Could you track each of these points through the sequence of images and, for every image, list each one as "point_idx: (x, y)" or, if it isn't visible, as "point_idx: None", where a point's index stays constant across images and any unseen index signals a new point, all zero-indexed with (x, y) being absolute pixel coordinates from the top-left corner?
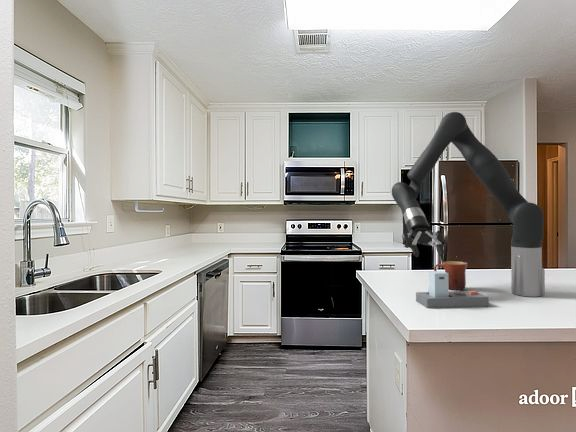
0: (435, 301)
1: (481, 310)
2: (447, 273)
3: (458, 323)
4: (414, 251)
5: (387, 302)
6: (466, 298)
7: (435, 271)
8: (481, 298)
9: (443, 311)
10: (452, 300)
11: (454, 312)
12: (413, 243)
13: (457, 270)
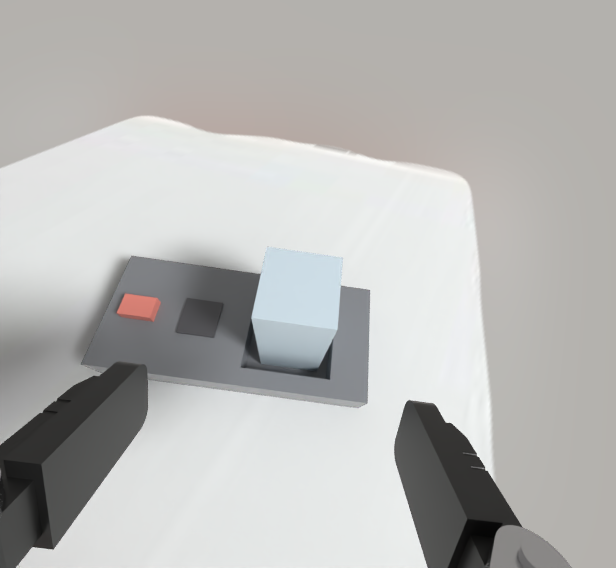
0: None
1: (210, 244)
2: (271, 248)
3: (351, 180)
4: (467, 442)
5: (482, 415)
6: (219, 269)
7: (300, 312)
8: (162, 262)
9: None
10: None
11: (304, 247)
12: (546, 555)
13: None
